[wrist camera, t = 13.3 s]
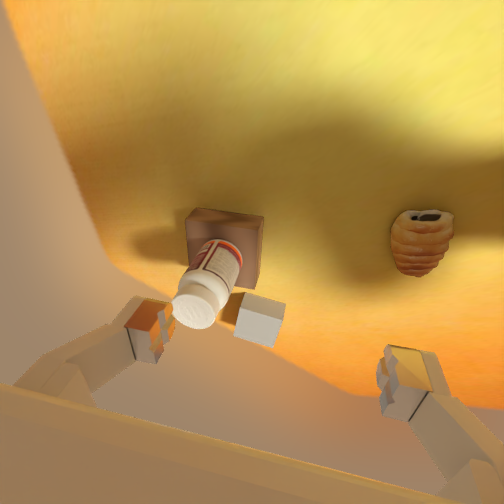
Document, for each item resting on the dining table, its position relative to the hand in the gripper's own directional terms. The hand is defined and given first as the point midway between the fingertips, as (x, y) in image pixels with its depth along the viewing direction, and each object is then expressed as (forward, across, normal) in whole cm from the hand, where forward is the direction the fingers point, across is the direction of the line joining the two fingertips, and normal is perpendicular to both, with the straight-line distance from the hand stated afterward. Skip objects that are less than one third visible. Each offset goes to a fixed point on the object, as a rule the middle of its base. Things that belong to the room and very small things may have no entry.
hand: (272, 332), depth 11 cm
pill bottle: (+25, +10, +15) cm, 31 cm away
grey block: (+29, +4, +28) cm, 41 cm away
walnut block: (+29, +10, +15) cm, 34 cm away
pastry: (+30, -15, +10) cm, 35 cm away
